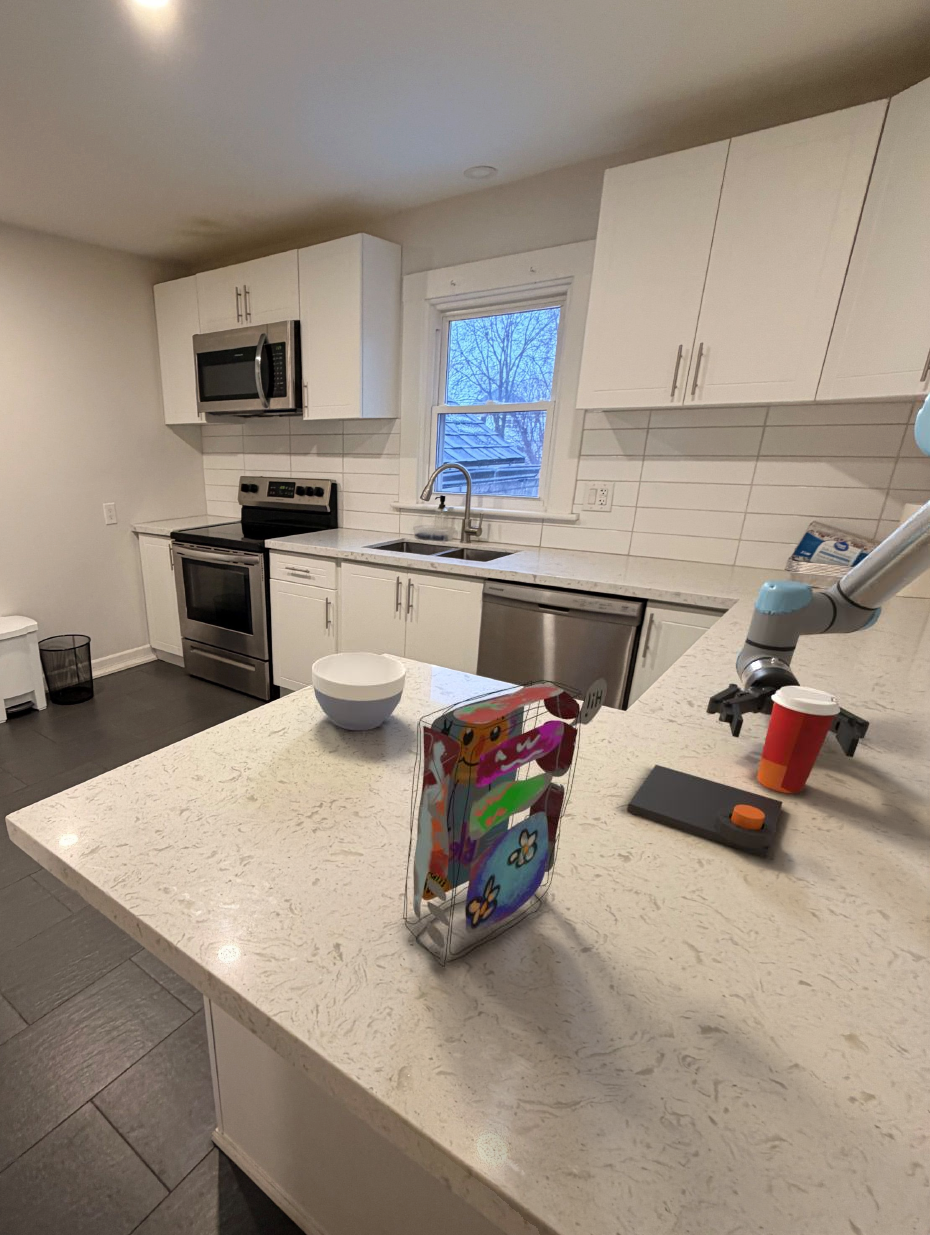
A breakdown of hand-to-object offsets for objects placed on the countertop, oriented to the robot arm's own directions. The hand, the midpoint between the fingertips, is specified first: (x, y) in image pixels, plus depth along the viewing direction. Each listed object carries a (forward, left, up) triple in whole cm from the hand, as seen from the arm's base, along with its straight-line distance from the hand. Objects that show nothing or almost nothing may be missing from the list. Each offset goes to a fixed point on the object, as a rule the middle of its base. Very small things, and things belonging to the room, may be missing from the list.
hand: (793, 738), depth 90 cm
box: (+20, +49, -8) cm, 53 cm away
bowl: (+60, +22, -8) cm, 64 cm away
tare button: (+2, +20, -5) cm, 20 cm away
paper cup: (0, 0, -8) cm, 8 cm away
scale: (+7, +15, -7) cm, 18 cm away
